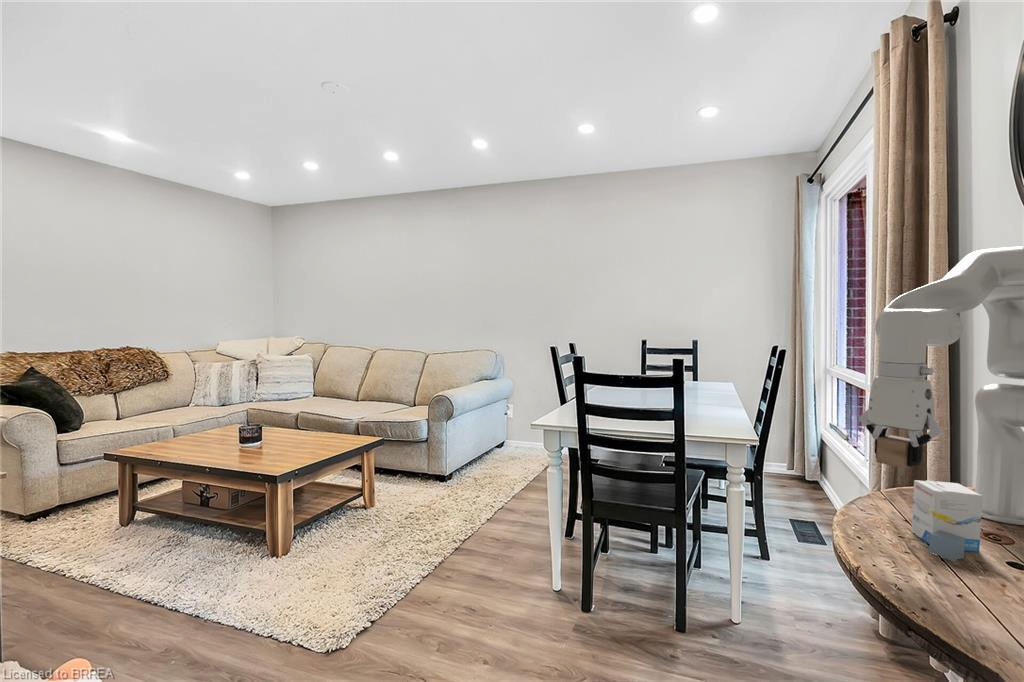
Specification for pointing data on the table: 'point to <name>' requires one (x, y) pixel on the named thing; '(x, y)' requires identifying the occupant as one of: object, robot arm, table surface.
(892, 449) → the walnut block
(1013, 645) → the table surface
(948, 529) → the ink box
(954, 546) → the slate block
